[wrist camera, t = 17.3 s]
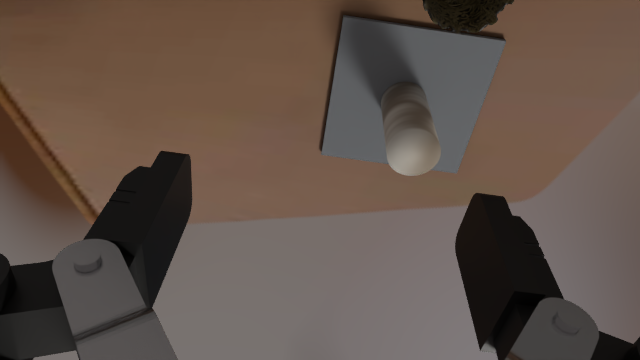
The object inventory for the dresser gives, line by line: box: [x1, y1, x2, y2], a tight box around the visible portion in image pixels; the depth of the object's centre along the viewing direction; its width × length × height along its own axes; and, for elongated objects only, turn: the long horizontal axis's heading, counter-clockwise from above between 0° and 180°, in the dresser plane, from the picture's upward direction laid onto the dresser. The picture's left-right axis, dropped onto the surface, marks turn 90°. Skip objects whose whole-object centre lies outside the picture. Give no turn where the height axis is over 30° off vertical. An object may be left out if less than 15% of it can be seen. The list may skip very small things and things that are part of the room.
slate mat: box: [321, 15, 506, 173], centre depth 51 cm, size 16×16×1 cm
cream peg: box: [381, 82, 441, 176], centre depth 47 cm, size 5×5×10 cm
